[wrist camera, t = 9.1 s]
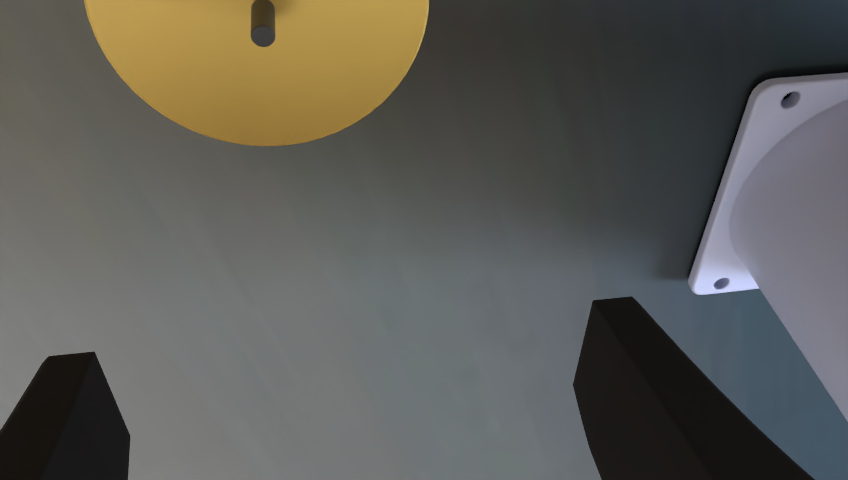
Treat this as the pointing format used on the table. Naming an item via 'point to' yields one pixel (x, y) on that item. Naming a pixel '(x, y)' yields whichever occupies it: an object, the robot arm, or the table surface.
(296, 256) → the table surface
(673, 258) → the table surface
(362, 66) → the candle
